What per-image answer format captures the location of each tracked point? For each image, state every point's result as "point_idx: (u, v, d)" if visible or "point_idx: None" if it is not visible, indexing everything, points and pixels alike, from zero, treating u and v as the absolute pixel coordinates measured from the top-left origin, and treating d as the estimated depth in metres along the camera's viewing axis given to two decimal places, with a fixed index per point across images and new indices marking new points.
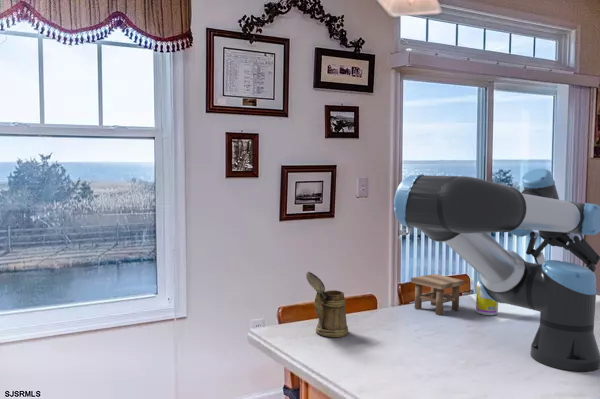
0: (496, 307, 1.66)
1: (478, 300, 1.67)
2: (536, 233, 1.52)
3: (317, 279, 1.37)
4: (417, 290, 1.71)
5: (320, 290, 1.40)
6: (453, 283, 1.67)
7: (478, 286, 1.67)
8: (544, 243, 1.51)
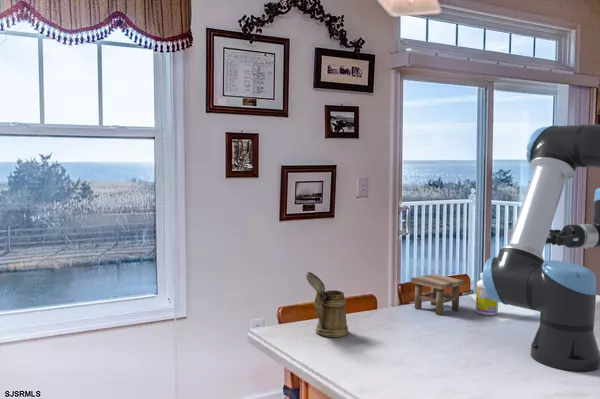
0: (496, 307, 1.66)
1: (478, 300, 1.67)
2: None
3: (317, 279, 1.37)
4: (417, 290, 1.71)
5: (320, 290, 1.40)
6: (453, 283, 1.67)
7: (478, 286, 1.67)
8: (550, 230, 1.73)
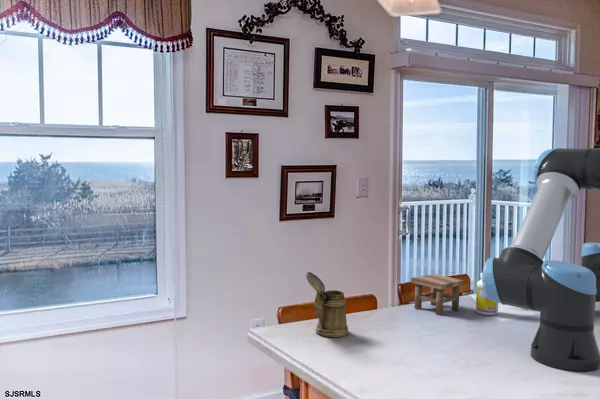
0: (496, 307, 1.66)
1: (478, 300, 1.67)
2: None
3: (317, 279, 1.37)
4: (417, 290, 1.71)
5: (320, 290, 1.40)
6: (453, 283, 1.67)
7: (478, 286, 1.67)
8: None
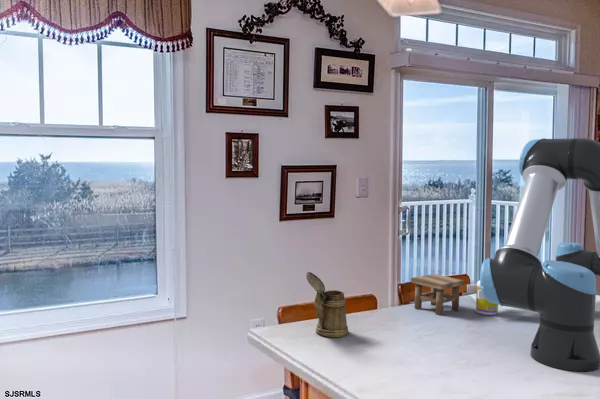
0: (496, 307, 1.66)
1: (478, 300, 1.67)
2: None
3: (317, 279, 1.37)
4: (417, 290, 1.71)
5: (320, 290, 1.40)
6: (453, 283, 1.67)
7: (478, 286, 1.67)
8: None
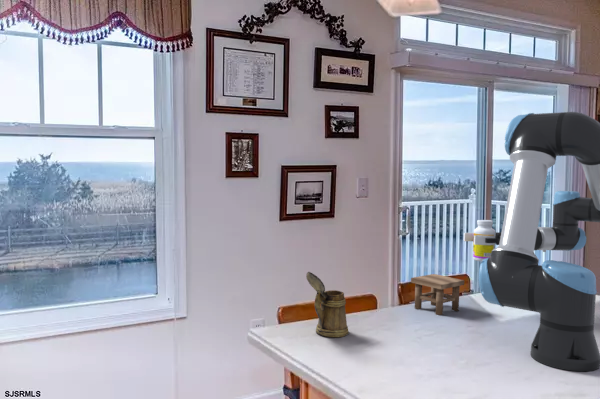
0: None
1: (475, 247, 1.67)
2: None
3: (317, 279, 1.37)
4: (417, 290, 1.71)
5: (320, 290, 1.40)
6: (453, 283, 1.67)
7: (475, 233, 1.67)
8: None
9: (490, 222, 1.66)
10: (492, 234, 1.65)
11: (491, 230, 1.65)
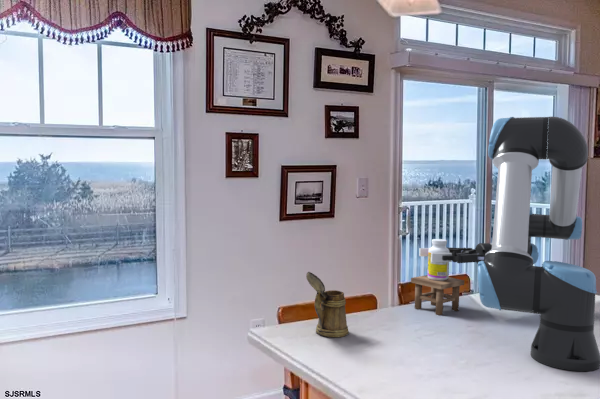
0: (446, 273, 1.68)
1: (429, 266, 1.70)
2: None
3: (317, 279, 1.37)
4: (417, 290, 1.71)
5: (320, 290, 1.40)
6: (453, 283, 1.67)
7: (429, 252, 1.70)
8: (463, 248, 1.75)
9: (444, 242, 1.68)
10: None
11: (445, 250, 1.68)
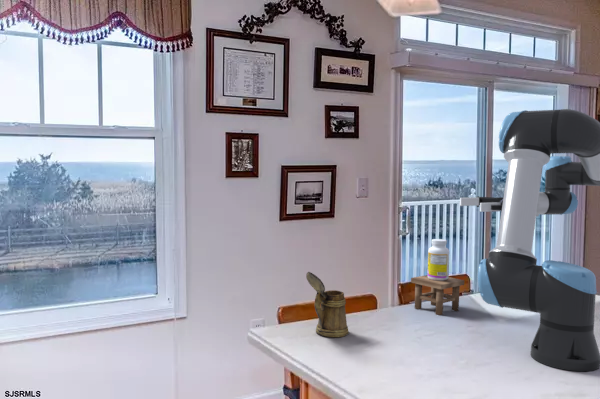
0: (446, 273, 1.68)
1: (429, 266, 1.70)
2: None
3: (317, 279, 1.37)
4: (417, 290, 1.71)
5: (320, 290, 1.40)
6: (453, 283, 1.67)
7: (429, 252, 1.70)
8: None
9: (444, 242, 1.68)
10: (445, 254, 1.68)
11: (444, 250, 1.68)
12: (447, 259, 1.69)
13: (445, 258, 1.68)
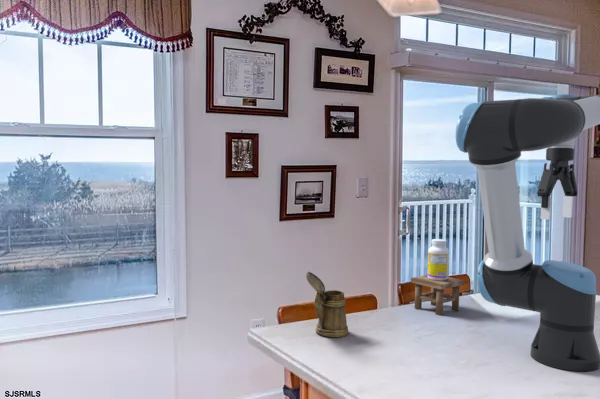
0: (446, 273, 1.68)
1: (429, 266, 1.70)
2: None
3: (317, 279, 1.37)
4: (417, 290, 1.71)
5: (320, 290, 1.40)
6: (453, 283, 1.67)
7: (429, 252, 1.70)
8: (560, 174, 1.54)
9: (444, 242, 1.68)
10: (445, 254, 1.68)
11: (444, 250, 1.68)
12: (447, 259, 1.69)
13: (445, 258, 1.68)
